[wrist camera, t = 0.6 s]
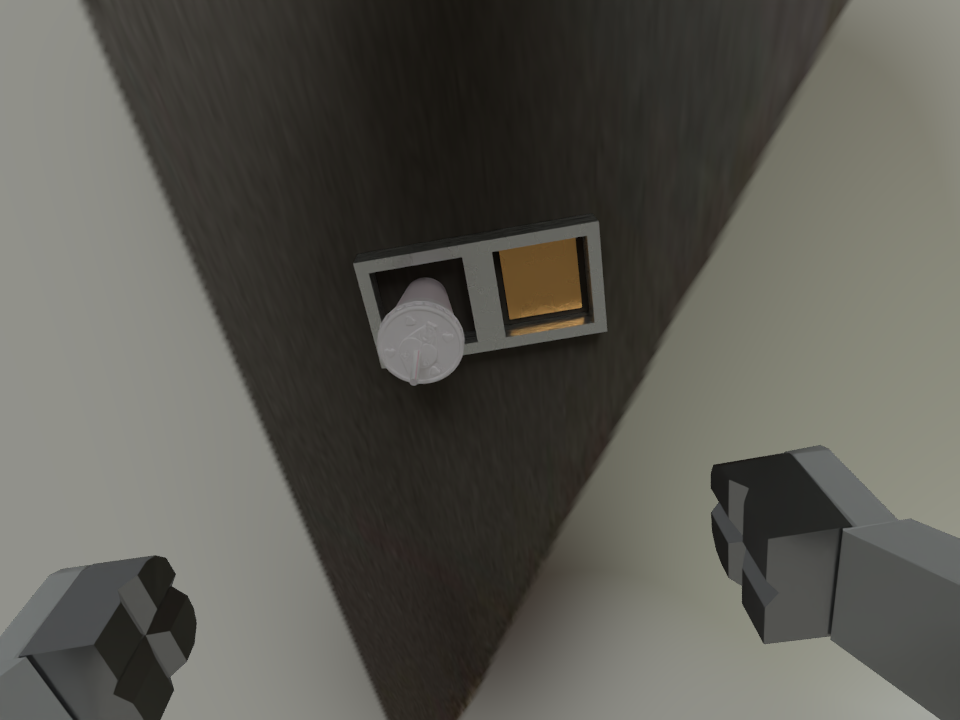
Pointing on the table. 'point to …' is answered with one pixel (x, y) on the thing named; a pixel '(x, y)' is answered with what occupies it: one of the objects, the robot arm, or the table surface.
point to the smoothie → (421, 335)
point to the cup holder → (508, 280)
